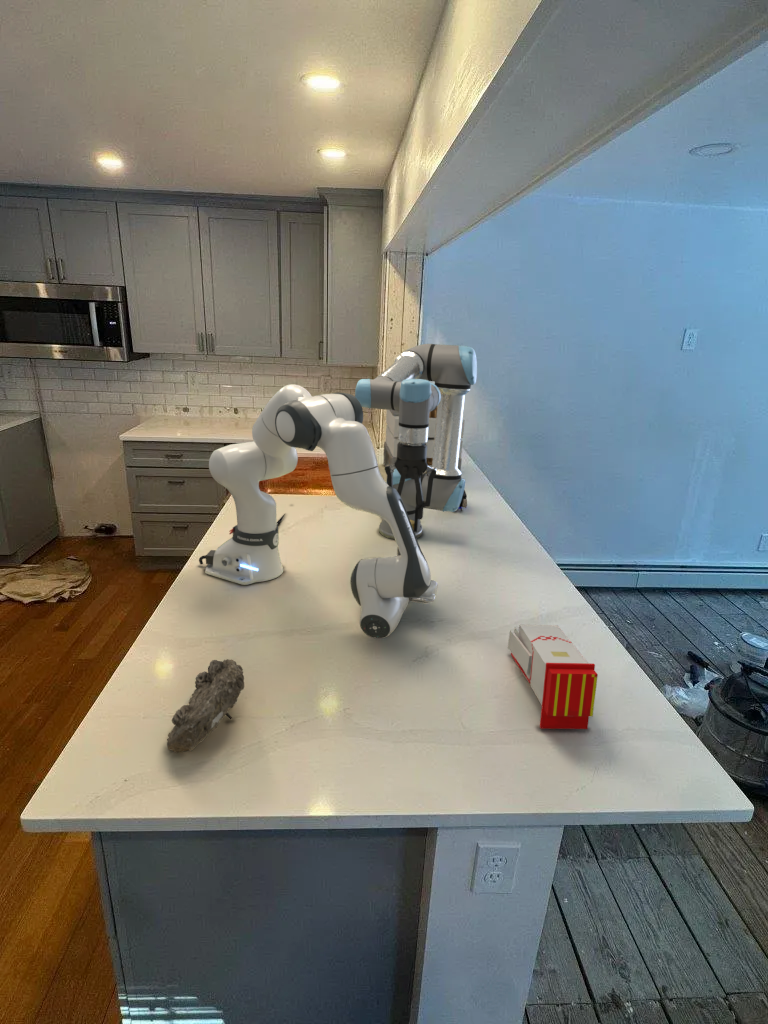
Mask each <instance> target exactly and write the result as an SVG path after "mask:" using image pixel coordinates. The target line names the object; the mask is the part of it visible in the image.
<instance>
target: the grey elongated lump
mask: <svg viewBox="0 0 768 1024" xmlns="http://www.w3.org/2000/svg"><path fill="white" fill-rule="evenodd" d="M243 670H244V669H243V667H242V665H240V664H237V662H236V661H235V660H234V659H232V658H231V659H227V658H226V659H224V660H223V661H222V660H217V659H212V660H211V661H210V663H209V665H208V666H207V671H201V672H199V673H198V674H197V675H196V676H195V680H194V684H195V685H194V687H195V689H194V690H193V693H192V694H191V697H190V698H189V700H188V704H184V705H182V706H181V707H180V709H177V710H176V711H175V713H174V715H173V716H172V718H171V723H172V724H173V727H172V730H171V731H170V732H168V734H167V738H166V741H167V742H166V745H167V749H168V750H169V751H173V752H174V753H176V754H178V753H182V752H188V751H189V752H192V751H193V750H195V748H196V747H197V746H199V744H200V743H201V742H203V741H204V740H205V739H206V738H207V737H208V736H209V735H210V734H211V733H212V732H214V730H215V729H217V727H218V726H219V724H220V722H221V721H222V720H223V719H224V718H225V716H226V717H227V719H229V720H233V717H232V715H230V714H229V710H230V709H231V708H234V706H235V704H236V703H237V702H238V699H239V697H240V695H241V693H242V691H243V690H245V689H244V688H245V675H244V671H243Z"/></svg>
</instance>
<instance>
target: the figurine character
mask: <svg viewBox="0 0 768 1024" xmlns="http://www.w3.org/2000/svg"><path fill="white" fill-rule="evenodd" d="M467 495H468V494H467V493H466V490H465V489H464V493H463V496H462V500H461V503H460V505H459V508H458V509H459V510H460V512H463V509H464V508H465V509H466V508H467V506H468V499H467V497H468V496H467ZM458 509H457V510H458Z"/></svg>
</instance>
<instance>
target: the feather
mask: <svg viewBox="0 0 768 1024" xmlns="http://www.w3.org/2000/svg"><path fill="white" fill-rule="evenodd" d="M285 515H286V513H283V515H281V517H280V518H279V519H278V520H277V525H278V527H279V526H280V525H281V522H282V520H283V519H284V517H285Z"/></svg>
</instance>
